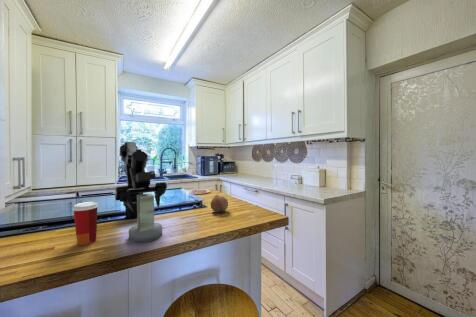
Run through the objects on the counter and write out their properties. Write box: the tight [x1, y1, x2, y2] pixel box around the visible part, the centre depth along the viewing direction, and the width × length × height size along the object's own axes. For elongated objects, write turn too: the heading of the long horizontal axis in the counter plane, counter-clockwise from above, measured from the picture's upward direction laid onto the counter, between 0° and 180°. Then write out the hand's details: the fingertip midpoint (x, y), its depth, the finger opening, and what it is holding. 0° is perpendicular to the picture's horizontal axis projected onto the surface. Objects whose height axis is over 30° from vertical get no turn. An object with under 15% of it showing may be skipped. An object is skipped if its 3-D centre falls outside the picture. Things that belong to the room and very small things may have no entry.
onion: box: [210, 194, 229, 214], centre depth 112 cm, size 10×9×10 cm
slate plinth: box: [128, 222, 163, 244], centre depth 82 cm, size 12×12×3 cm
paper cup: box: [71, 201, 99, 246], centre depth 76 cm, size 8×8×14 cm
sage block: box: [136, 192, 155, 231], centre depth 81 cm, size 5×5×13 cm
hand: (146, 208), depth 80 cm, fingers open, 9 cm apart
